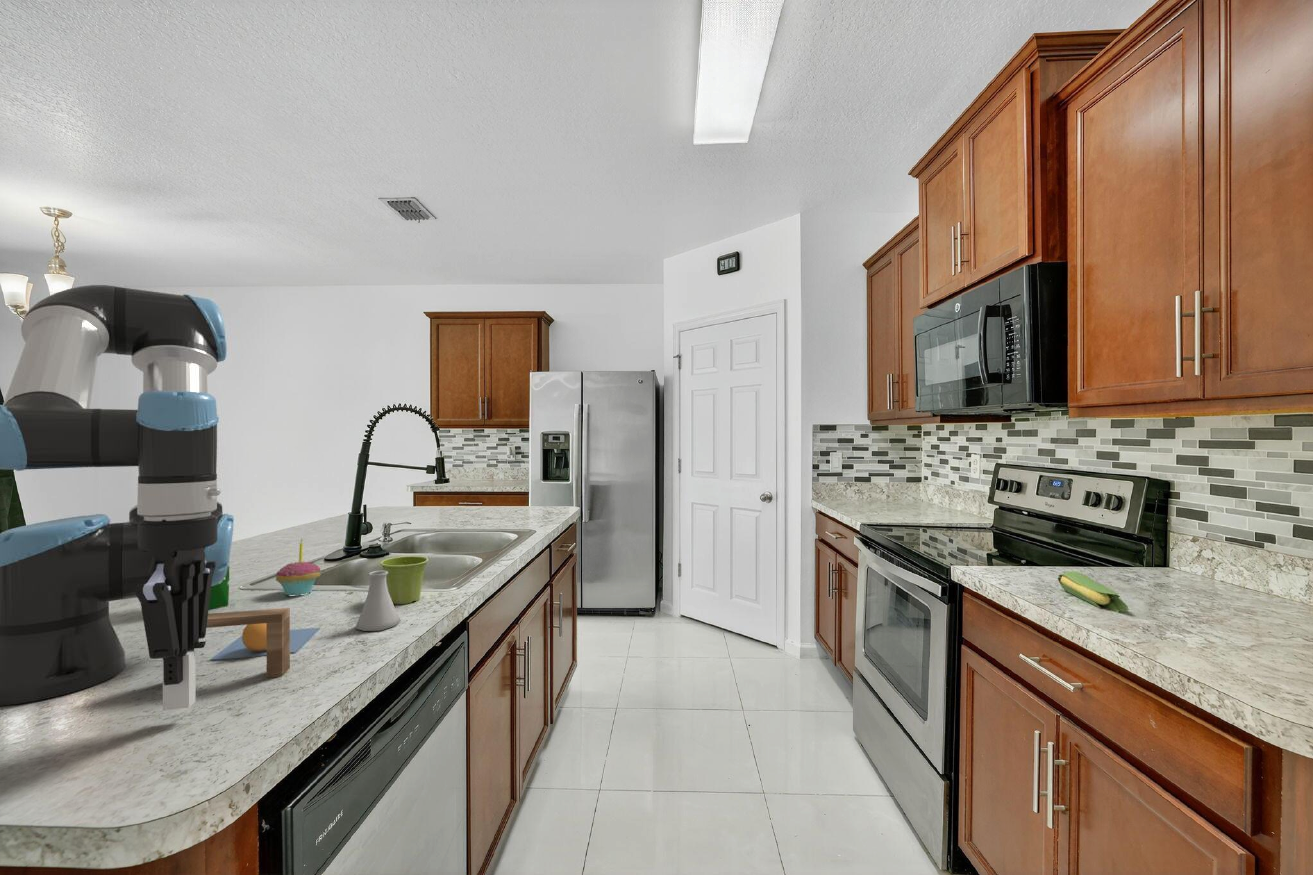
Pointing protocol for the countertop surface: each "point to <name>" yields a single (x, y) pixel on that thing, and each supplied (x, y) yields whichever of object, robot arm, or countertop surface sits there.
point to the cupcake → (298, 576)
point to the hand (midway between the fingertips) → (179, 705)
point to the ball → (255, 637)
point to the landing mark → (241, 651)
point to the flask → (377, 605)
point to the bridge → (276, 633)
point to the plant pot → (404, 578)
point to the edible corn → (1091, 591)
